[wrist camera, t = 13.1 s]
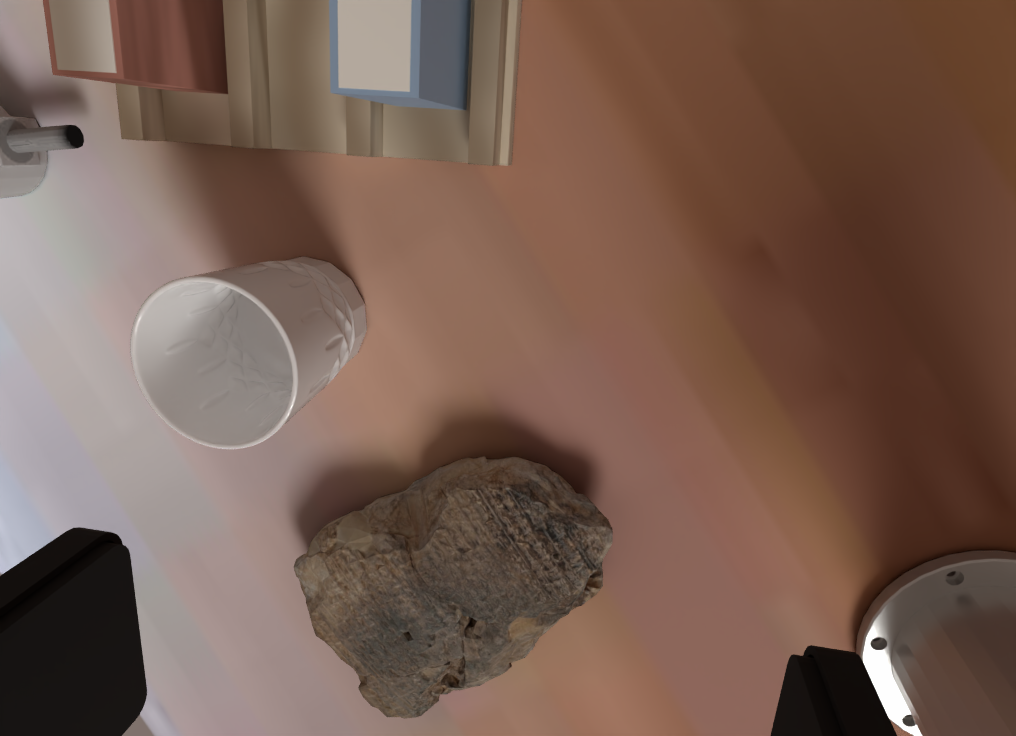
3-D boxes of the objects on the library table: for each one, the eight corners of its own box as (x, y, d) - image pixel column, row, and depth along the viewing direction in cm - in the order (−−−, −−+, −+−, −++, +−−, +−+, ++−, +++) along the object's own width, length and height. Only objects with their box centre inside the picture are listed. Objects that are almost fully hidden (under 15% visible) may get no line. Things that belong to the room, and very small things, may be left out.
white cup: (274, 391, 41) (168, 461, 32) (229, 262, 39) (102, 297, 30) (394, 367, 39) (320, 434, 30) (354, 231, 37) (261, 258, 28)
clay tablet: (546, 394, 39) (282, 536, 44) (537, 428, 34) (243, 582, 40) (666, 585, 41) (403, 696, 47) (673, 640, 37) (380, 756, 42)
